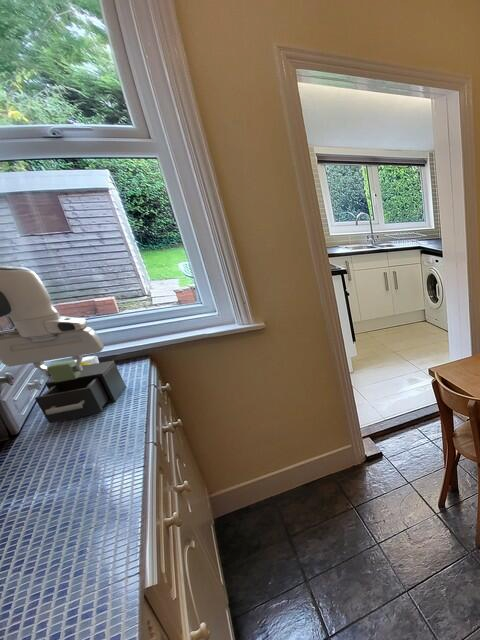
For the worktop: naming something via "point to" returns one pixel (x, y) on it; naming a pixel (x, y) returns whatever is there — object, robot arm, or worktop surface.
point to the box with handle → (107, 375)
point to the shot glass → (89, 360)
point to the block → (63, 371)
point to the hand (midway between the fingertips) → (65, 373)
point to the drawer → (73, 399)
